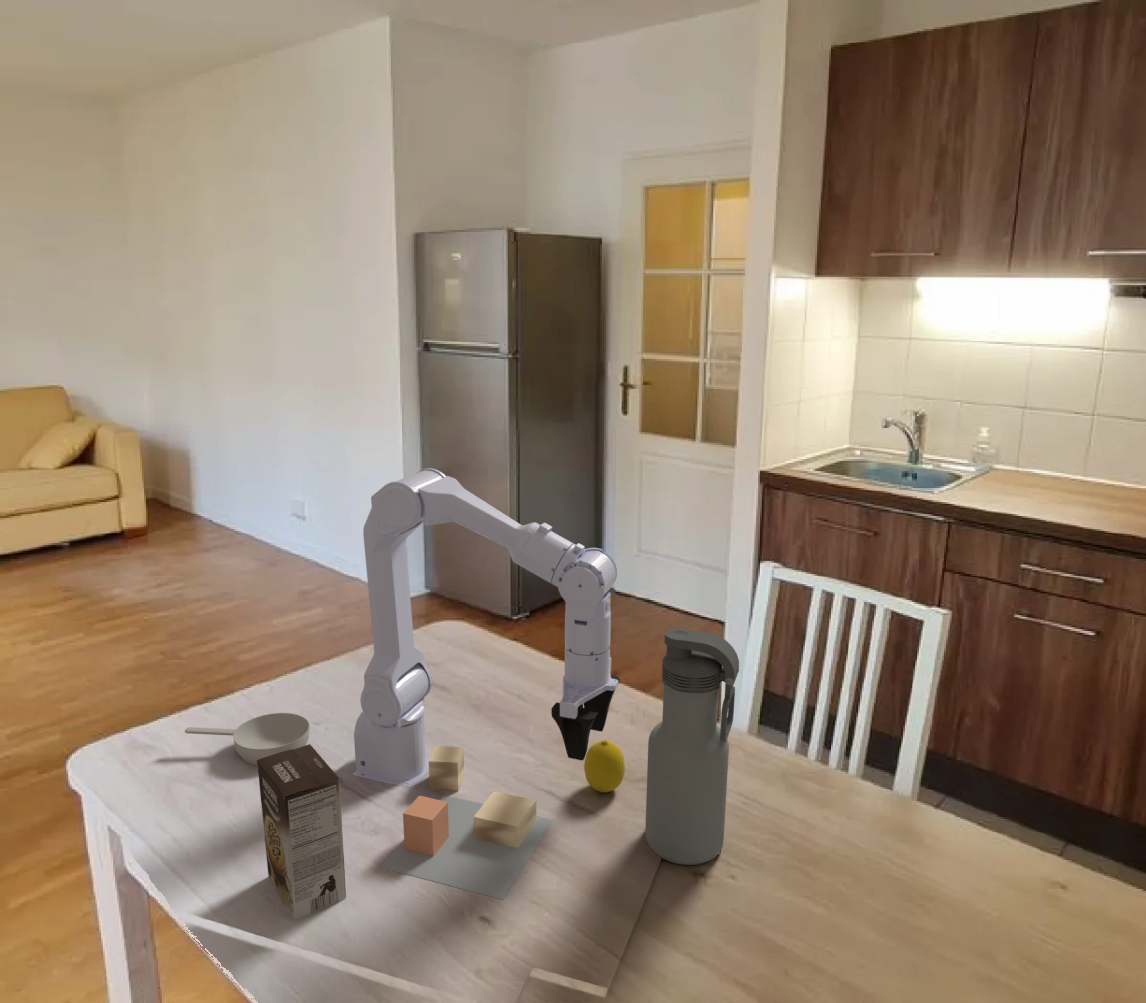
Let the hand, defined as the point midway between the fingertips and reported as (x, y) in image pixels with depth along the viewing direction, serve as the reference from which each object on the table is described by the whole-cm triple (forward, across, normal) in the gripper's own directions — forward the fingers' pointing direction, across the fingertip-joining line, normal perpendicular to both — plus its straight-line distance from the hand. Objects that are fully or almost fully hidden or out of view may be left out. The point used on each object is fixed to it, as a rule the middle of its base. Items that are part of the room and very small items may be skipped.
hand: (586, 743), depth 114 cm
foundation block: (+10, -8, +8) cm, 15 cm away
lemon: (+10, +5, -1) cm, 11 cm away
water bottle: (+10, -2, -14) cm, 17 cm away
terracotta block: (+10, -14, +16) cm, 23 cm away
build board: (+10, -12, +11) cm, 19 cm away
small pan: (+10, -3, +52) cm, 53 cm away
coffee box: (+10, -26, +25) cm, 38 cm away
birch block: (+10, -1, +20) cm, 22 cm away
